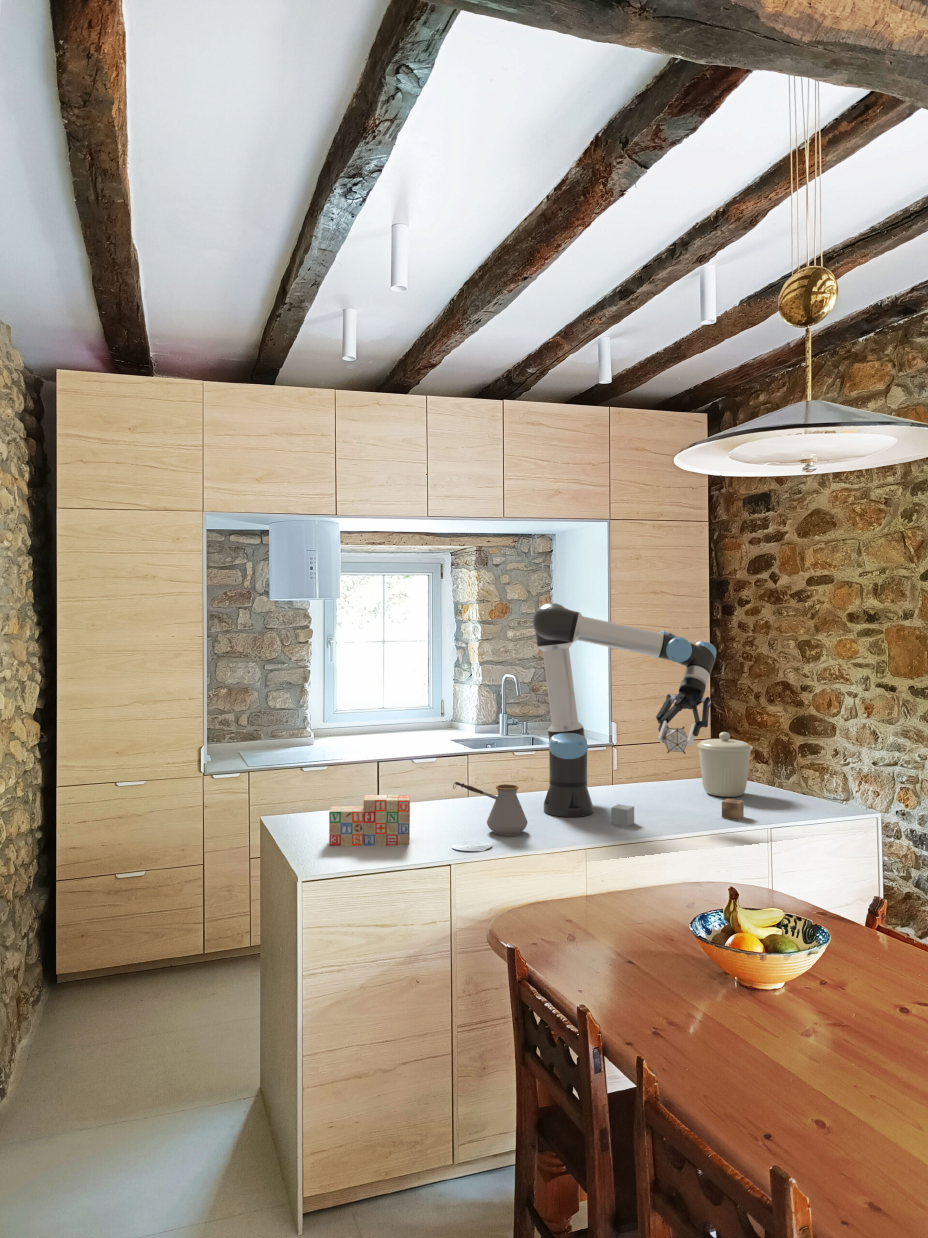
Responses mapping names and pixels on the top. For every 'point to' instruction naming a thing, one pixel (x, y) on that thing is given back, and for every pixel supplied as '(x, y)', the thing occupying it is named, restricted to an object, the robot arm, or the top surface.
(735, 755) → the canister
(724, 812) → the walnut block
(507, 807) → the coffee pot
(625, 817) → the light grey cube
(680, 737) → the game die
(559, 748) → the robot arm
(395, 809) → the stack of blocks
